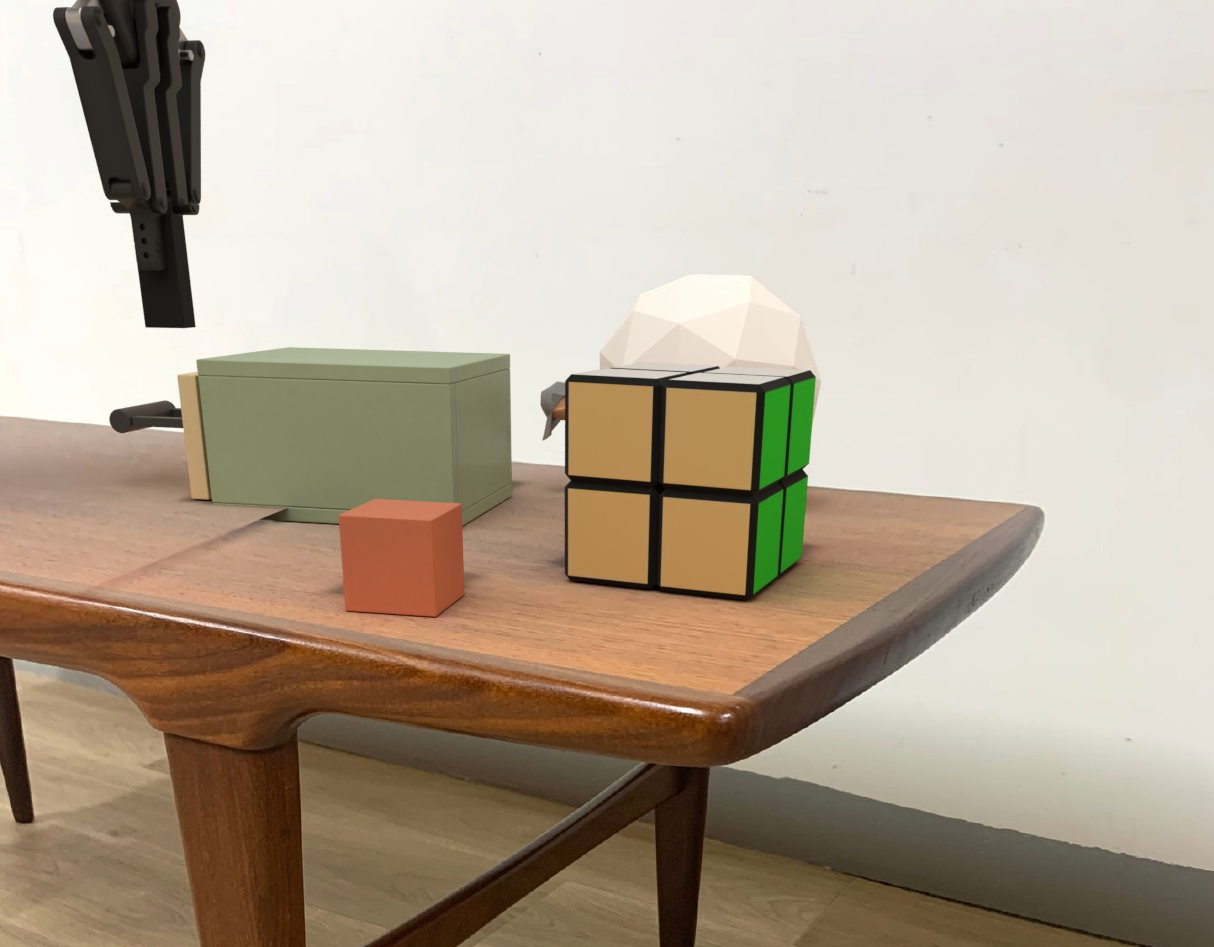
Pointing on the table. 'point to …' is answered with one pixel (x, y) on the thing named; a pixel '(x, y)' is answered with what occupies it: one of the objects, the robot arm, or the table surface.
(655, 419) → the puzzle cube
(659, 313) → the person on sphere
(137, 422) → the drawer
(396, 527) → the block
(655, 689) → the table surface
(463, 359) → the cabinet
